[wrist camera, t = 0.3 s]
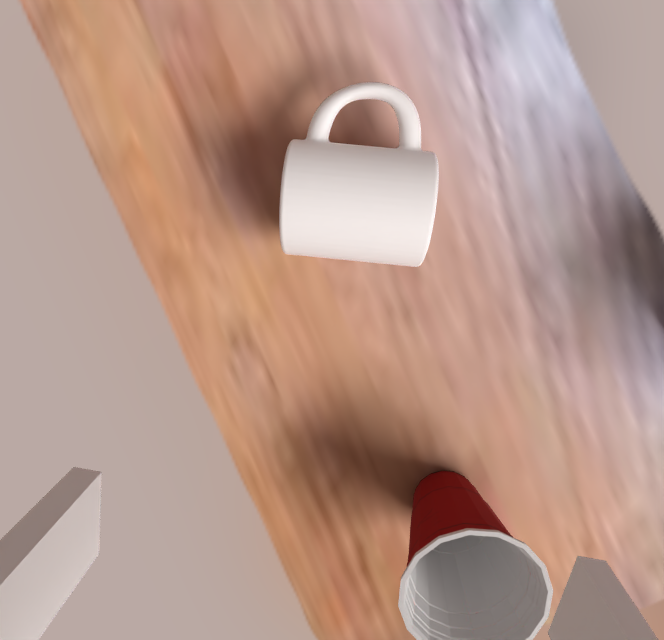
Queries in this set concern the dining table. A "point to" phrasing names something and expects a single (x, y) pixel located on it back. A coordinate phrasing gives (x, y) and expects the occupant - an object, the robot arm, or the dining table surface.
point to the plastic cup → (468, 569)
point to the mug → (359, 188)
